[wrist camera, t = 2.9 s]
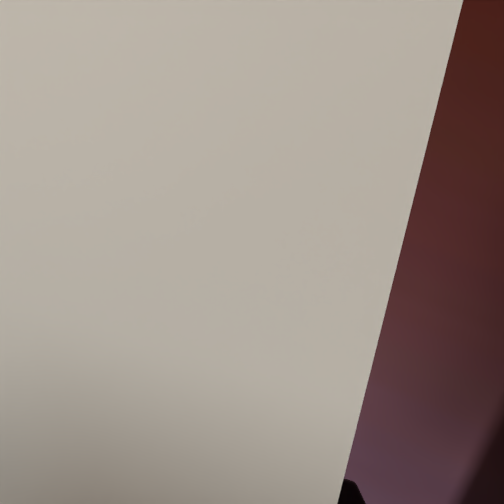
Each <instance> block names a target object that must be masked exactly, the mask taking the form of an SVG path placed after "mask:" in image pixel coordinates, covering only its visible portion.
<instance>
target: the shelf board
mask: <svg viewBox="0 0 504 504" xmlns="http://www.w3.org/2000/svg"><path fill="white" fill-rule="evenodd" d="M462 2H463V0H0V504H337V503H338V499H339V495H340V491H341V487H342V483H343V479H344V475H345V471H346V467H347V463H348V459H349V455H350V451H351V447H352V443H353V439H354V435H355V431H356V427H357V423H358V419H359V415H360V411H361V407H362V403H363V399H364V395H365V391H366V387H367V383H368V379H369V375H370V371H371V367H372V363H373V359H374V355H375V351H376V347H377V343H378V339H379V335H380V331H381V327H382V323H383V319H384V315H385V311H386V307H387V303H388V299H389V295H390V291H391V287H392V283H393V279H394V275H395V271H396V266H397V262H398V258H399V254H400V250H401V246H402V242H403V238H404V234H405V230H406V226H407V222H408V218H409V214H410V210H411V206H412V202H413V198H414V194H415V190H416V186H417V182H418V178H419V174H420V170H421V166H422V162H423V158H424V154H425V150H426V146H427V142H428V138H429V134H430V130H431V126H432V122H433V118H434V114H435V110H436V106H437V102H438V98H439V94H440V90H441V86H442V82H443V78H444V74H445V70H446V66H447V62H448V58H449V54H450V50H451V46H452V42H453V38H454V34H455V30H456V26H457V22H458V18H459V14H460V10H461V6H462Z"/></svg>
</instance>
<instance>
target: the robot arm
mask: <svg viewBox="0 0 504 504" xmlns="http://www.w3.org/2000/svg"><path fill="white" fill-rule="evenodd" d="M337 504H366V503H365V501H364V499H363V497H362V495H361V493H360V491H359V489H358V486H357V485H356V483H355V482H353V481H350V480H347V479H343V483H342V487H341V491H340V495H339V499H338V503H337Z"/></svg>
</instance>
